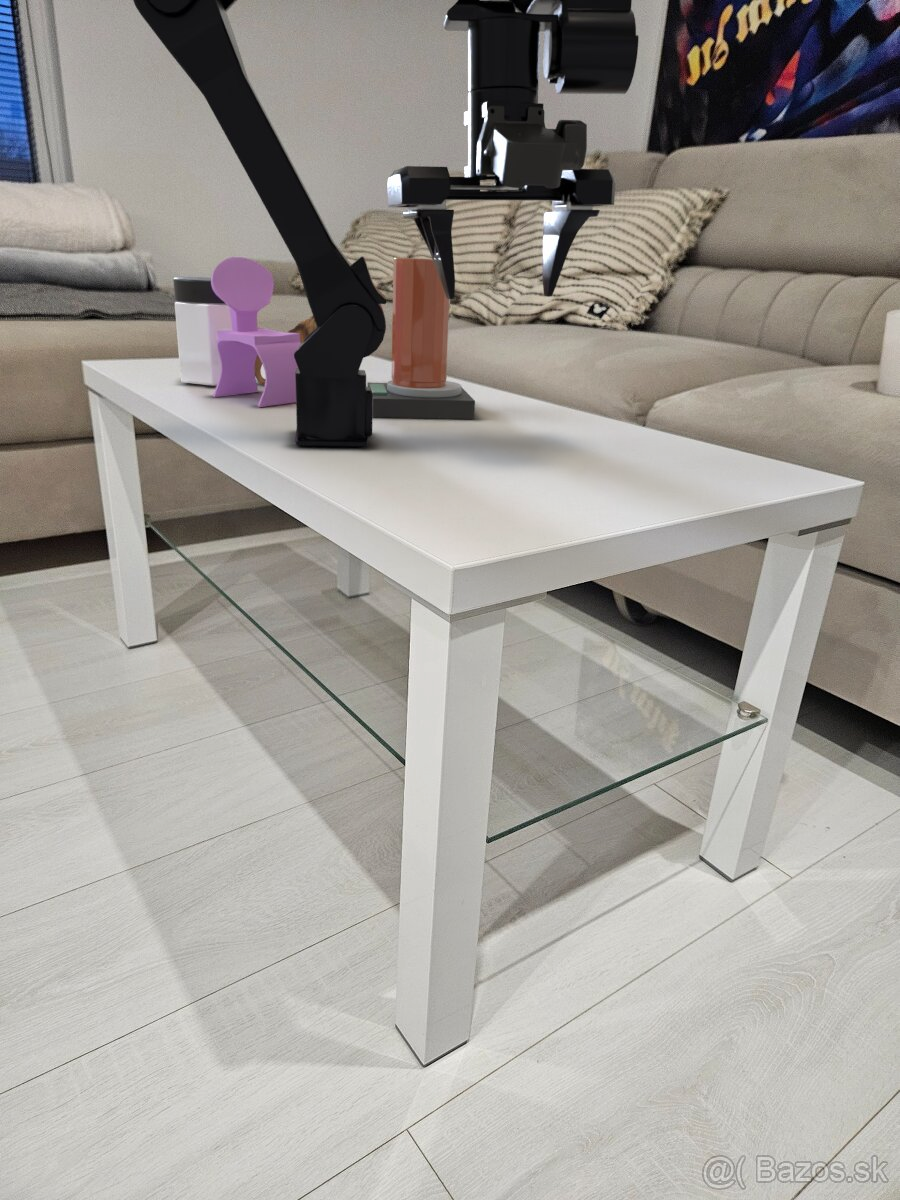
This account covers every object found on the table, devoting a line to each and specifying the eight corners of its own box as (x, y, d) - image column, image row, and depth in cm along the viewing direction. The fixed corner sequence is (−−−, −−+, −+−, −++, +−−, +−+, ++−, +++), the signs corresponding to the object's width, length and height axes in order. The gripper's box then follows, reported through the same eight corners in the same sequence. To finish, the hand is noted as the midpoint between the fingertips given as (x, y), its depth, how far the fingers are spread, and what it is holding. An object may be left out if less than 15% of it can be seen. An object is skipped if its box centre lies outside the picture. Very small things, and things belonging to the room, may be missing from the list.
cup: (443, 389, 90) (449, 260, 85) (388, 386, 90) (390, 257, 85) (448, 381, 95) (453, 260, 90) (395, 378, 96) (398, 257, 91)
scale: (372, 417, 88) (373, 390, 87) (367, 399, 98) (367, 375, 97) (474, 419, 90) (475, 393, 89) (458, 401, 100) (459, 377, 99)
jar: (196, 387, 99) (188, 280, 94) (167, 378, 104) (158, 276, 100) (262, 382, 104) (258, 281, 100) (231, 373, 110) (226, 277, 105)
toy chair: (255, 409, 89) (248, 259, 83) (205, 397, 94) (195, 255, 88) (312, 401, 95) (309, 261, 89) (262, 390, 100) (257, 257, 94)
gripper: (416, 69, 58) (422, 306, 64) (655, 80, 62) (638, 299, 69) (382, 95, 67) (389, 298, 73) (590, 103, 72) (581, 293, 78)
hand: (500, 297), depth 73 cm, fingers open, 9 cm apart
